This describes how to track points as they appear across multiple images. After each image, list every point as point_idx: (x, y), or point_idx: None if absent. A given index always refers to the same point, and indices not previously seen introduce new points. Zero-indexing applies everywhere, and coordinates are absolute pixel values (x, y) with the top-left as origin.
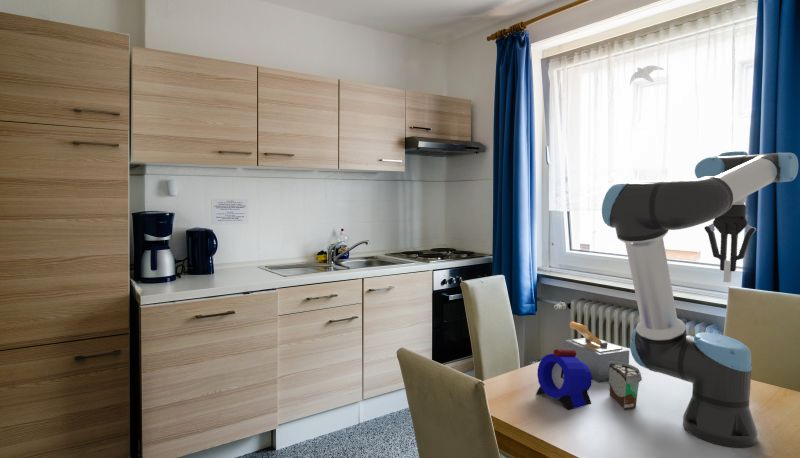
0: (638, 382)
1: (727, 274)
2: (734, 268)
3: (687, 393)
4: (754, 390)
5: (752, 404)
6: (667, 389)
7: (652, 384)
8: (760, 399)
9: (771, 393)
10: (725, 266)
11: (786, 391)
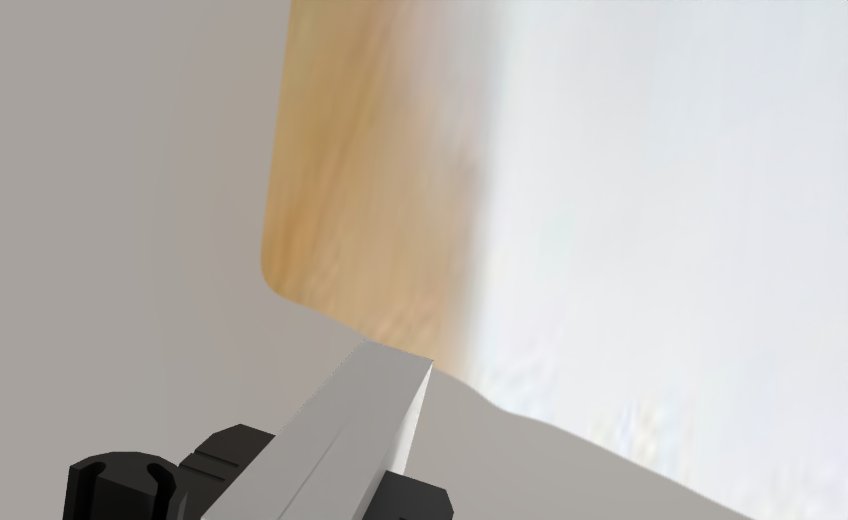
0: None
1: (357, 393)
2: (209, 446)
3: (657, 32)
4: (385, 225)
5: (412, 43)
6: (745, 38)
7: (814, 72)
8: (377, 123)
9: (330, 220)
10: (349, 470)
11: (278, 273)
